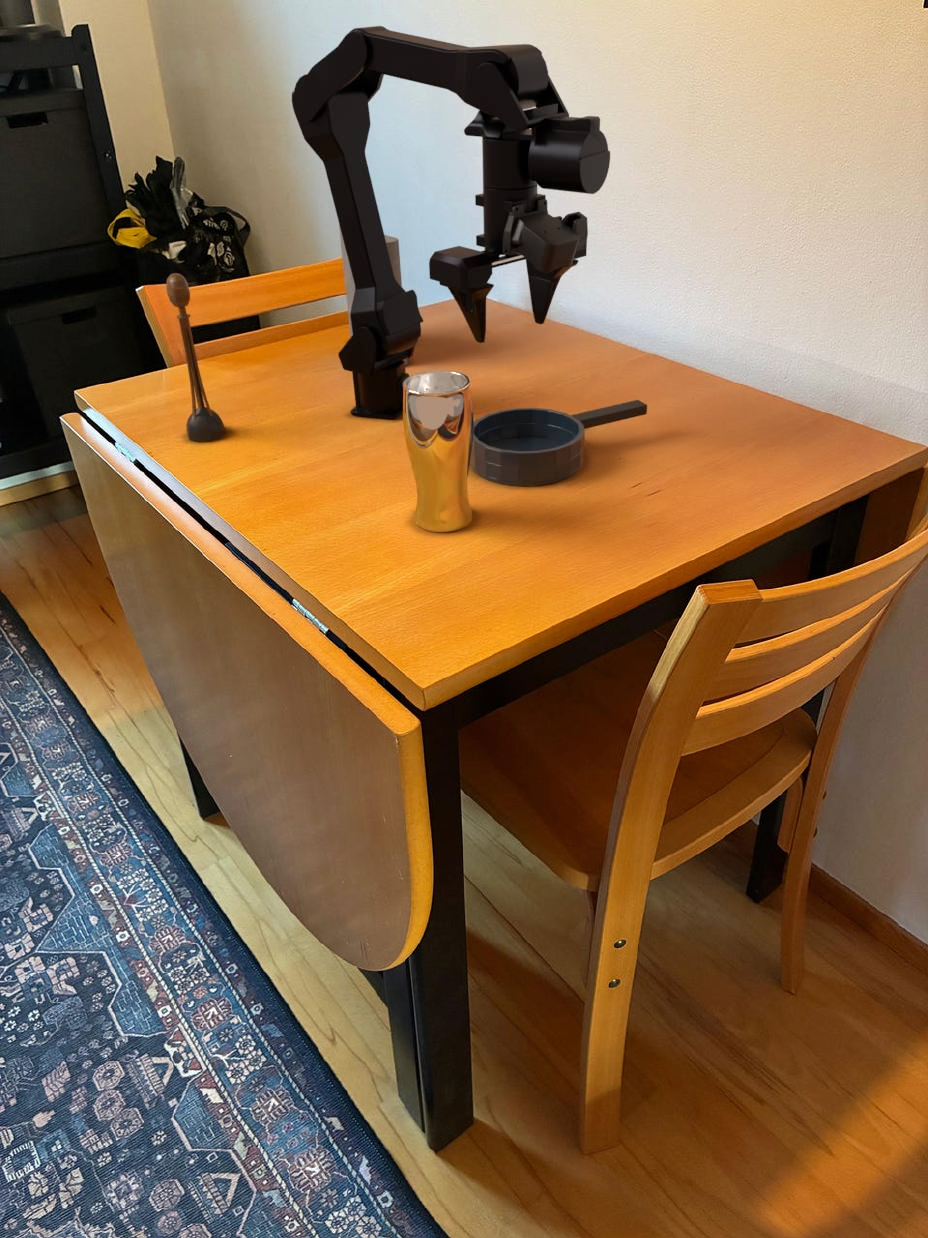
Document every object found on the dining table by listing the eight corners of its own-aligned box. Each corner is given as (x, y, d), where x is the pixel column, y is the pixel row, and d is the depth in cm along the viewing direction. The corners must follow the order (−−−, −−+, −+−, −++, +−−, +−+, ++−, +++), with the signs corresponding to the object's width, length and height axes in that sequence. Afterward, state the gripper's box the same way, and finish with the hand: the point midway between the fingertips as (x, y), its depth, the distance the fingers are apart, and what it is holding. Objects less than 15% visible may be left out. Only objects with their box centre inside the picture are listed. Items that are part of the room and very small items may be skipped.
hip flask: (411, 364, 143) (401, 220, 132) (386, 369, 141) (373, 224, 130) (366, 336, 155) (353, 202, 143) (342, 341, 153) (328, 206, 142)
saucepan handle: (578, 430, 113) (578, 420, 113) (569, 424, 115) (569, 415, 114) (646, 414, 117) (647, 404, 116) (637, 408, 118) (637, 399, 118)
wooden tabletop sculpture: (183, 428, 126) (150, 269, 115) (219, 421, 127) (189, 264, 116) (192, 444, 121) (158, 280, 110) (228, 437, 123) (198, 275, 111)
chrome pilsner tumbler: (428, 541, 98) (419, 399, 90) (400, 513, 104) (389, 377, 95) (488, 524, 101) (485, 385, 93) (457, 498, 106) (452, 364, 98)
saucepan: (454, 478, 110) (453, 446, 108) (489, 433, 121) (489, 403, 118) (567, 492, 106) (568, 458, 104) (594, 444, 117) (595, 412, 114)
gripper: (496, 210, 91) (497, 370, 100) (628, 180, 101) (619, 329, 110) (422, 194, 99) (429, 345, 107) (552, 168, 108) (549, 309, 117)
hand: (510, 332), depth 110 cm, fingers open, 9 cm apart
